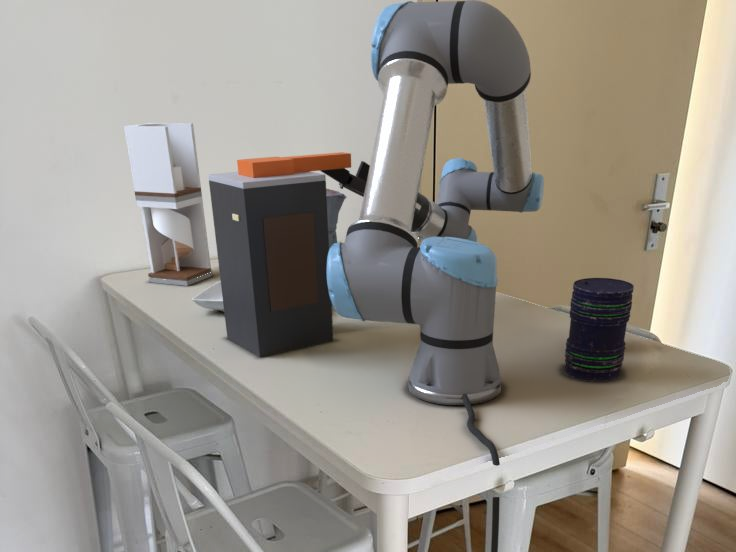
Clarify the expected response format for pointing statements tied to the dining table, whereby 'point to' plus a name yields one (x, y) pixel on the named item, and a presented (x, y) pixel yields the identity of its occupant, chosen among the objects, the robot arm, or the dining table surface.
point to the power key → (292, 164)
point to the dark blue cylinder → (597, 329)
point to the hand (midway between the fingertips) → (339, 165)
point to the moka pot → (333, 213)
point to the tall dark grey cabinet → (273, 259)
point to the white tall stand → (169, 201)
